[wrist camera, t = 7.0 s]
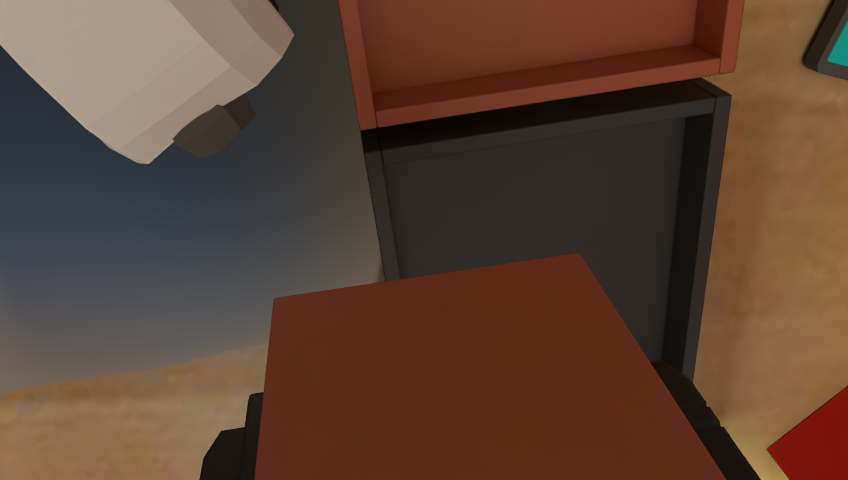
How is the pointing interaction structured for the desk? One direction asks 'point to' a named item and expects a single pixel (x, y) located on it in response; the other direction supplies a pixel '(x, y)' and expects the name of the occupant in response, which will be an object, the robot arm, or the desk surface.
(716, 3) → the terracotta tray
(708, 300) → the desk surface
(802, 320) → the desk surface
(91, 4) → the giant panda
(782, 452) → the book
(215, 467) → the robot arm
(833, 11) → the smartphone
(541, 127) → the charcoal tray
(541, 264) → the terracotta block
